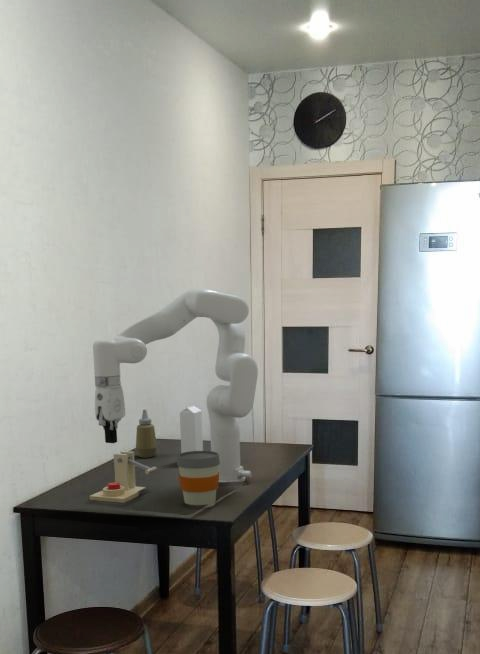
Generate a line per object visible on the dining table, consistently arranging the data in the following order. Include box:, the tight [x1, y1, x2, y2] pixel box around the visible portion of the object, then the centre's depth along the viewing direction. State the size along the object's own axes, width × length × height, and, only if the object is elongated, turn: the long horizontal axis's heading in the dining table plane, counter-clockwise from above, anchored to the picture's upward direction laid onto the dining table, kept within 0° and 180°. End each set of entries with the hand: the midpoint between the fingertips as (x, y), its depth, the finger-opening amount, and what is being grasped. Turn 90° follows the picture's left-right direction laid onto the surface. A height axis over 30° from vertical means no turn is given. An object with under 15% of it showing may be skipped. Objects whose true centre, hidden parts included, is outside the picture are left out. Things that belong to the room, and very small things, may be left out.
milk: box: [179, 401, 204, 454], centre depth 309 cm, size 6×6×22 cm
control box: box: [89, 486, 140, 504], centre depth 258 cm, size 12×9×4 cm
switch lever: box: [122, 453, 158, 475], centre depth 265 cm, size 12×5×2 cm, turn 67°
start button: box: [107, 481, 120, 490], centre depth 258 cm, size 4×4×2 cm
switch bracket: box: [113, 450, 147, 492], centre depth 267 cm, size 10×8×13 cm
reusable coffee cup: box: [176, 450, 220, 509], centre depth 250 cm, size 13×13×15 cm
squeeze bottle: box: [135, 409, 158, 459], centre depth 322 cm, size 8×8×18 cm
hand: (111, 442), depth 255 cm, fingers closed
